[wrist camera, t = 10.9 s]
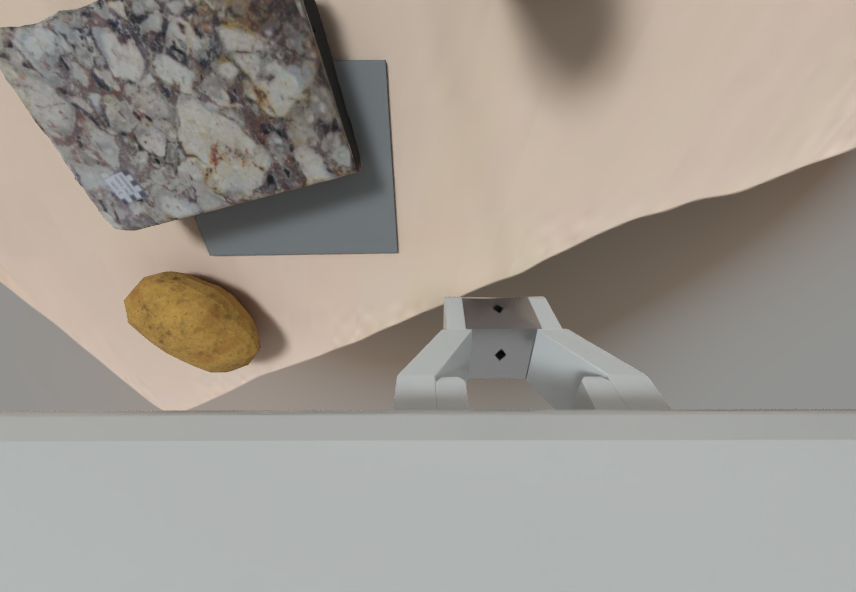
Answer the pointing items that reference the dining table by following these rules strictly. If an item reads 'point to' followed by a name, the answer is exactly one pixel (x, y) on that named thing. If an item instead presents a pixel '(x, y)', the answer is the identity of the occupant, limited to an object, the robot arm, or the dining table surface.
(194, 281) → the potato
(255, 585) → the robot arm
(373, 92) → the mat
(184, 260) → the dining table surface
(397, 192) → the dining table surface
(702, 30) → the dining table surface
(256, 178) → the stone block
